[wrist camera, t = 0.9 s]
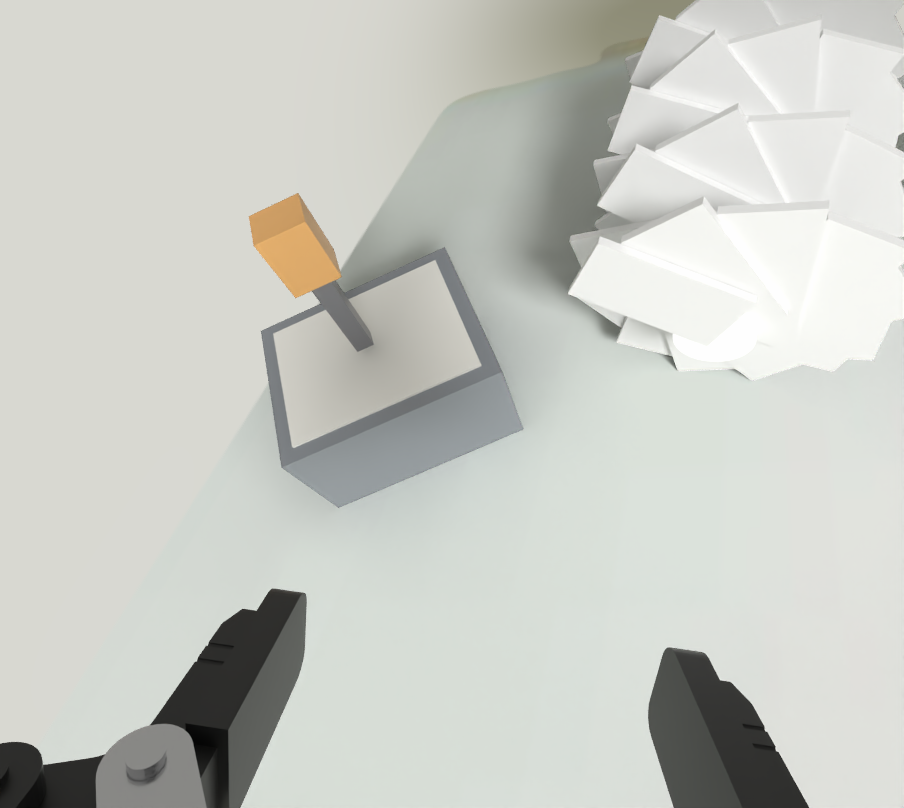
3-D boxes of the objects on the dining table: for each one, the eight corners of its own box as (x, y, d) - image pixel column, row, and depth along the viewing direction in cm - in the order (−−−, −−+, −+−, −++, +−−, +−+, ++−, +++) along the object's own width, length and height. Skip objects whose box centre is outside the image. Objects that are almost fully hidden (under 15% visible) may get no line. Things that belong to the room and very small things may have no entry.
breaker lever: (387, 346, 35) (305, 221, 26) (348, 363, 35) (253, 245, 26) (378, 320, 36) (298, 192, 27) (341, 337, 37) (249, 216, 28)
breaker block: (523, 429, 40) (501, 370, 33) (338, 507, 41) (279, 466, 34) (471, 314, 46) (443, 245, 39) (313, 385, 47) (259, 329, 40)
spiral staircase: (776, 203, 48) (760, 454, 37) (589, 132, 48) (516, 363, 37) (999, -31, 31) (1090, 296, 20) (714, -142, 31) (651, 128, 20)
